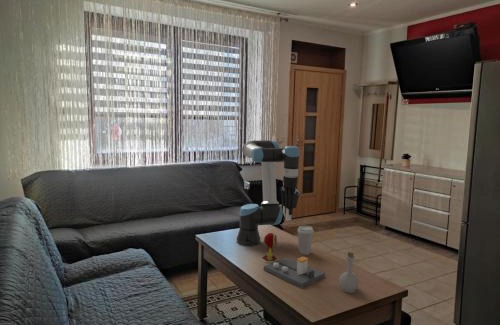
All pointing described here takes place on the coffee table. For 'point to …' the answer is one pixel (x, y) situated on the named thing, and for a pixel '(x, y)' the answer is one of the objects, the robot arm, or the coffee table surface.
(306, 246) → the coffee cup
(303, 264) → the block
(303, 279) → the console
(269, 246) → the figurine
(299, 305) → the coffee table surface
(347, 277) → the potion bottle
